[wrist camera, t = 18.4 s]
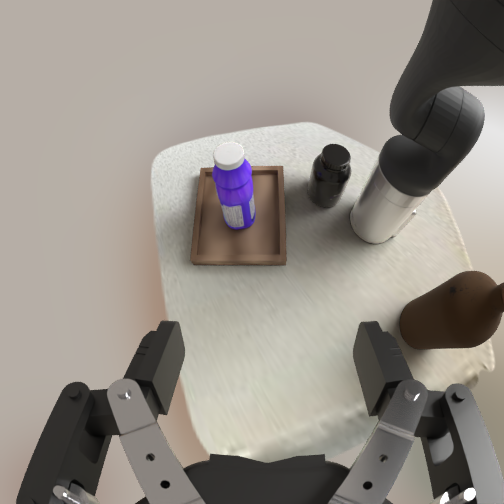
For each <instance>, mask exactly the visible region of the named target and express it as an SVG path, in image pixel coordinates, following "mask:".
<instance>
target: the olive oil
mask: <svg viewBox="0 0 504 504" xmlns="http://www.w3.org/2000/svg"><path fill="white" fill-rule="evenodd" d="M503 312H504V283H502V284H500V285H497V284H496V283H495V282H494V281H493V280H492V279H491V278H490V277H489V276H488V275H486V274H484V273H482V272H479V271H466V272H462V273H459V274H457V275H455V276H454V277H452V278H451V279H449V280H448V281H446V282H444V283H443V284H441V285H440V286H438V287H436V288H435V289H433V290H431V291H429V292H428V293H426V294H424V295H422V296H420V297H418V298H416V299H414V300H412V301H411V302H410V303H408V304H407V305H406V307H405V308H404V310H403V312H402V314H401V318H400V331H401V334H402V337H403V339H404V340H405V342H406V343H407V344H408V345H409V346H411V347H413V348H415V349H444V348H472V347H476V346H478V345H480V344H482V343H484V342H485V341H487V340H488V339H489V338H490V337H491V336H492V335H493V334H494V332H495V331H496V330H497V328H498V325H499V323H500V320H501V317H502V313H503Z"/></svg>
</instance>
